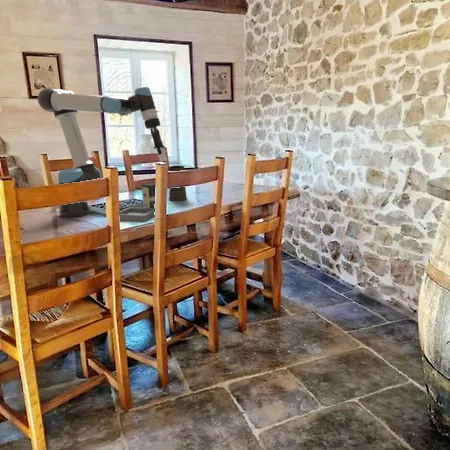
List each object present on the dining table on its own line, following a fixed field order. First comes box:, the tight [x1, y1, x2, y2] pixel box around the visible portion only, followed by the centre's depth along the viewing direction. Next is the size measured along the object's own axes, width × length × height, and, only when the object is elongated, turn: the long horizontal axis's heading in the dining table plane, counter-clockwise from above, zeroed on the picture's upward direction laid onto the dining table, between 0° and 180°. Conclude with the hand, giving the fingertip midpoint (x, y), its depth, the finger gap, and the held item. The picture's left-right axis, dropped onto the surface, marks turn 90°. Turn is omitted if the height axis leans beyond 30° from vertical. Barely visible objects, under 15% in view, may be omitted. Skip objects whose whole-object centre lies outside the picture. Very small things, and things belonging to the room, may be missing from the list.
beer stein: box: [167, 165, 188, 202], centre depth 236 cm, size 15×11×20 cm
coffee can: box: [140, 182, 155, 208], centre depth 209 cm, size 10×10×14 cm
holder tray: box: [119, 207, 155, 222], centre depth 195 cm, size 16×16×3 cm
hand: (163, 160), depth 199 cm, fingers open, 13 cm apart
